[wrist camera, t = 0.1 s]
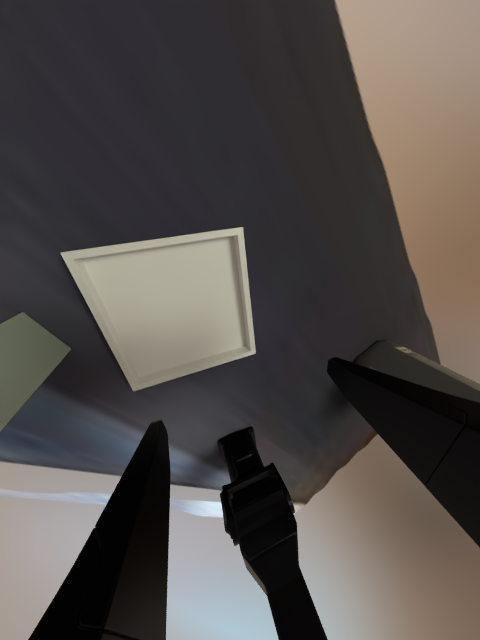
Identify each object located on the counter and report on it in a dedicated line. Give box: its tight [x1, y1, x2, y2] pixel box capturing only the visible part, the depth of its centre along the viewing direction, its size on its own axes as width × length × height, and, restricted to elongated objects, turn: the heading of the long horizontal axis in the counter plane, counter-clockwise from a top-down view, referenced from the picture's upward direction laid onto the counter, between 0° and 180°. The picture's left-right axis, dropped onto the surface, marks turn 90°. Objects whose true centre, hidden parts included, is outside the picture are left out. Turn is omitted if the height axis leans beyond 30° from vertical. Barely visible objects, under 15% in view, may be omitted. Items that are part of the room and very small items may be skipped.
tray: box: [61, 227, 256, 391], centre depth 21 cm, size 15×15×2 cm
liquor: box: [355, 341, 480, 403], centre depth 25 cm, size 9×9×30 cm
